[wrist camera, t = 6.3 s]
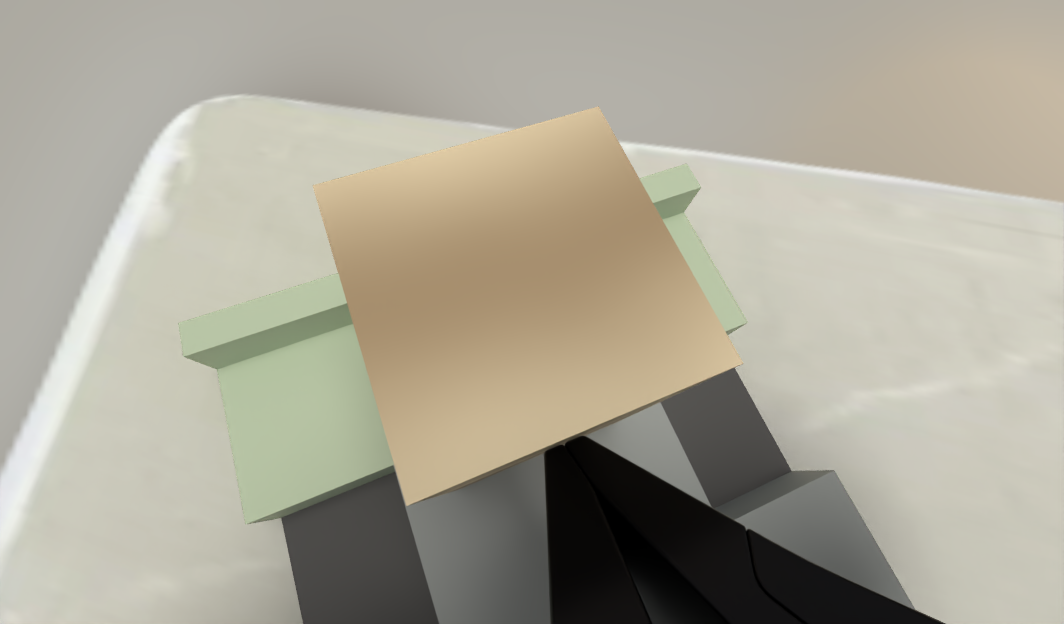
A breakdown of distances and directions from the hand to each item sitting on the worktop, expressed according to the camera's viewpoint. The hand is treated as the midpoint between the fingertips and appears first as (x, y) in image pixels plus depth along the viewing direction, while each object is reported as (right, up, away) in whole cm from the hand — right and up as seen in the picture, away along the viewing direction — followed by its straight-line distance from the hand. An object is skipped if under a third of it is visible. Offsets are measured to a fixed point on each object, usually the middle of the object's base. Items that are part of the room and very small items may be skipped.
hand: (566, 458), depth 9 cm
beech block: (-1, +1, +5) cm, 5 cm away
